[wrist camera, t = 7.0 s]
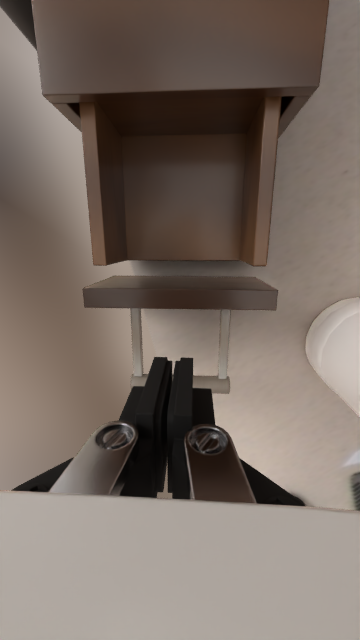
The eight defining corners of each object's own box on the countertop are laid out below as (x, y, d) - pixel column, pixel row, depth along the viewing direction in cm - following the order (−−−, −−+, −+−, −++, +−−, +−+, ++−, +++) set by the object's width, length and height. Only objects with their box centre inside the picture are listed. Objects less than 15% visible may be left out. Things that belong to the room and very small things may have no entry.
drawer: (248, 366, 23) (266, 409, 17) (119, 363, 24) (93, 403, 18) (266, 125, 18) (301, 68, 12) (103, 129, 19) (61, 77, 13)
